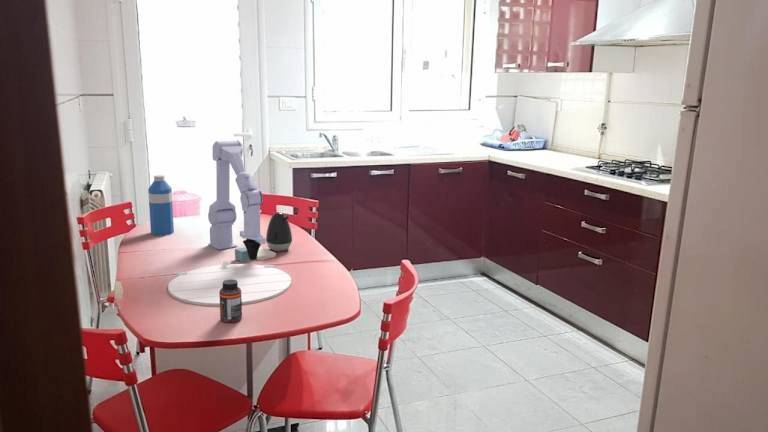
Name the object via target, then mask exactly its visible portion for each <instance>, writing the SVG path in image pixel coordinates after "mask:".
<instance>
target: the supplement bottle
mask: <svg viewBox="0 0 768 432" xmlns="http://www.w3.org/2000/svg"><path fill="white" fill-rule="evenodd" d="M237 286H238V283H237V280H234V279H228V280H224V281H223V288H222V289H220V292H219V294H220V296H219V297H220V306H219V313H220V314H219V316H220V321H222V322H223V323H226V324H229V323H232V324H234V323H237V322H239V321H241V320H242V318H243V305H242V297H241V289H240V288H239V287H237Z"/></svg>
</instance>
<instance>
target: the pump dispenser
mask: <svg viewBox="0 0 768 432" xmlns="http://www.w3.org/2000/svg"><path fill="white" fill-rule="evenodd" d="M289 219H290V217H289V216H287V215H285V214H284V213H283V212H281V211H277V212H275V213H273V214H272V216H271V218H270V219H269V223H268V224H267V225H268V226H267V229H266V234H265V235H266V237H265V239H266V244H267V246H268V248H269V249H270V251H272V252H284V251H286V250H288V249H289V248H290V247H291V244H292V242H293V233H292V229H291V225H290V222H289Z"/></svg>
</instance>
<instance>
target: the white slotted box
mask: <svg viewBox="0 0 768 432" xmlns="http://www.w3.org/2000/svg"><path fill="white" fill-rule="evenodd" d="M242 247H243V246H242ZM242 247H240V248H242ZM275 257H277V253H276V252H275V251H273V250H269V249H267V248H264V247H261V246H260V247H259V250H258V254H257V258H256V259H255V260H256V261H261V260H266V259H267V260H268V259H271V258H275Z"/></svg>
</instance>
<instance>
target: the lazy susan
mask: <svg viewBox="0 0 768 432" xmlns="http://www.w3.org/2000/svg"><path fill="white" fill-rule="evenodd" d="M222 262H223V263H222V264H219V265H212V266H206V267H200V268H197V269H193V270H190V271H183V272H178V273H176V275H175V276H176V277H174V278H173V279H172V280H171V281H170V282H169V283H168V288H167V289H168V290H167V291H168V293H169V294H170V296H172V297H173V298H175V300H178V301H181V302H184V303H187V304H193V305H198V306H205V307H206V306H209V307H212V306H213V307H220V297H219V296H220V294H219V292H220V289H222V288H223V281H224V280H228V279H234V280H237V283H238V286H237V287H239V288H240V289H241V297H242V306H243V305H249V304H254V303H259V302H263V301H267V300H270V299H273V298H277V297H278V296H280V295H283V294H284V293H285V292H287V291H288V290H289V289H290V288H291V286H292V277H291V276H290V275H289V274H288V273H287V272H286V271H284V270H282V269H279V268H275V267H276V266H275V265H273V264H267V265H266V264H264V265H261V264H260V265H259V264H250V263H241V264H240V263H235V264H234V263H233V264H232V263H231V264H230V262H229V261H227V260H223V261H222ZM288 288H289V289H288ZM287 289H288V290H287ZM286 290H287V291H286ZM284 291H285V292H284Z"/></svg>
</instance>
